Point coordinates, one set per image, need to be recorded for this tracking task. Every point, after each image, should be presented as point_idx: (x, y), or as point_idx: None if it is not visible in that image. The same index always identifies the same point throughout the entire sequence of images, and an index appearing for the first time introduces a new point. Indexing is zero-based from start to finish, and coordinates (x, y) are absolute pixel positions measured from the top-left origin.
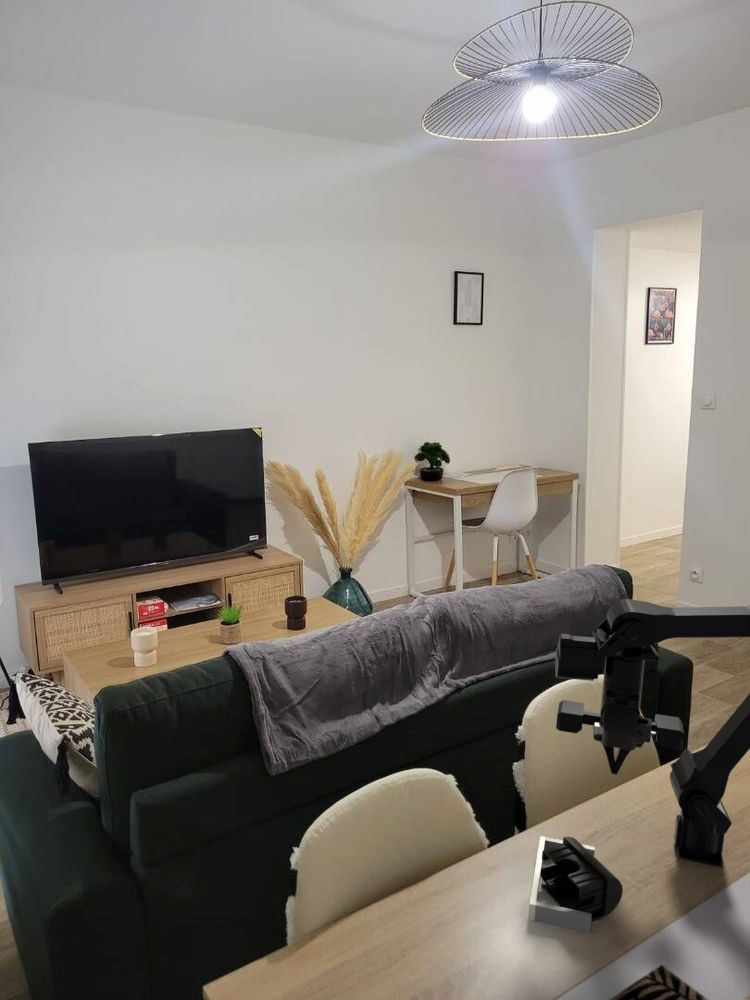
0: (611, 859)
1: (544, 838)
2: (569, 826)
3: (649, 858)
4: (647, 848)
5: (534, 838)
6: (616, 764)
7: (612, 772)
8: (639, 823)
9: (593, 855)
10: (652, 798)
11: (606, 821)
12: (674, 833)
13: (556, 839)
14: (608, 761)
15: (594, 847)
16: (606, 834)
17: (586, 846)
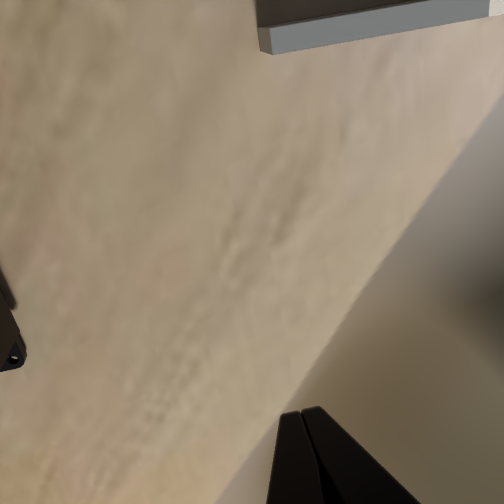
0: (197, 101)
1: (492, 2)
2: (370, 217)
3: (69, 182)
4: (93, 236)
5: (487, 82)
6: (314, 486)
7: (316, 414)
8: (155, 348)
9: (267, 27)
10: (149, 471)
11: (256, 305)
12: (15, 337)
13: (440, 22)
14: (398, 483)
15: (273, 50)
16: (244, 239)
17: (308, 38)
